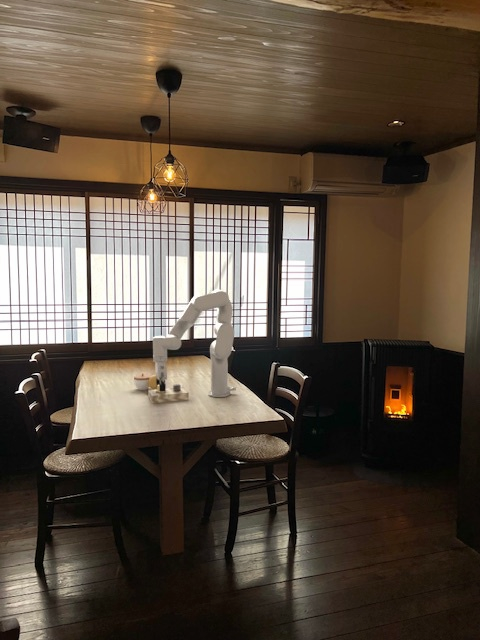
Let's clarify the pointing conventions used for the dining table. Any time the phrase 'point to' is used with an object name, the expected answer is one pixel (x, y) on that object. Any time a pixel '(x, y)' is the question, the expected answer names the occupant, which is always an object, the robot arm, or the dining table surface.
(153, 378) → the stress ball
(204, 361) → the dining table surface
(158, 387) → the brass cylinder
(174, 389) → the jig
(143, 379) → the lidded jar
